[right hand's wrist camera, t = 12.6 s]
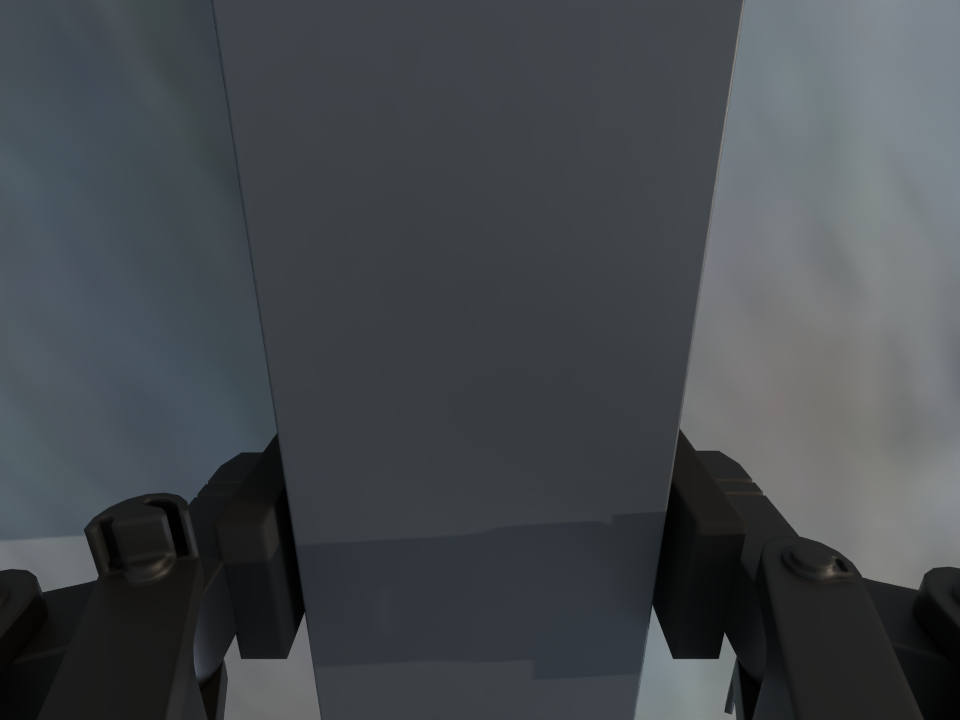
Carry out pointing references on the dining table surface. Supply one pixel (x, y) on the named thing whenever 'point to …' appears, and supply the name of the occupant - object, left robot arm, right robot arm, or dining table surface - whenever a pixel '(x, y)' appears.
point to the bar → (478, 328)
